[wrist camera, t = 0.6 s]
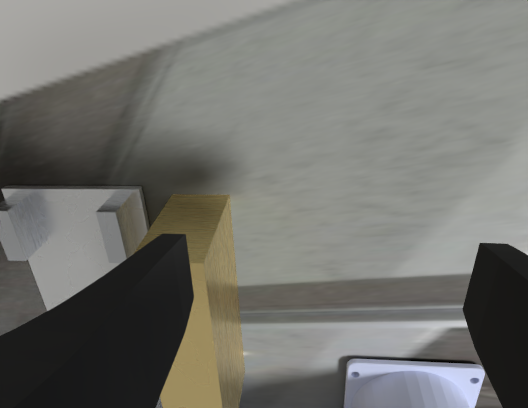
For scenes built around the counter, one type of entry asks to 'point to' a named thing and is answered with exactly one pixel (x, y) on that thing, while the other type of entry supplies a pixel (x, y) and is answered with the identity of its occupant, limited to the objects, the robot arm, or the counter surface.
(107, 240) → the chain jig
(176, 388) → the brass plaque on stand
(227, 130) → the counter surface
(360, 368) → the robot arm
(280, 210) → the counter surface
